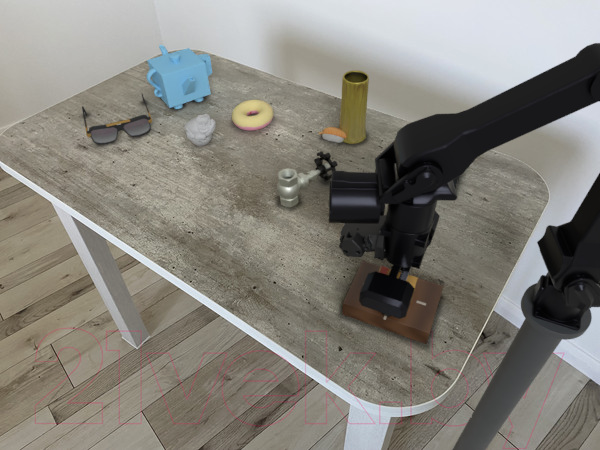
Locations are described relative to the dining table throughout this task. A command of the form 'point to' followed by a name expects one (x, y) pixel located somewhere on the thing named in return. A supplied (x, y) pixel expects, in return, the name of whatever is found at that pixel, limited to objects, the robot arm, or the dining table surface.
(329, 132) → the sushi
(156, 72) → the teapot
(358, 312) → the panel
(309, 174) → the valve
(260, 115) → the donut
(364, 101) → the vase
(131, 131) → the sunglasses
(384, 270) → the lock knob
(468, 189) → the dining table surface
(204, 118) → the grey lumpy blob
